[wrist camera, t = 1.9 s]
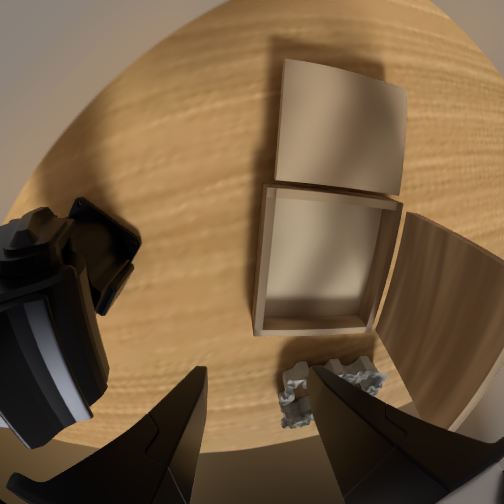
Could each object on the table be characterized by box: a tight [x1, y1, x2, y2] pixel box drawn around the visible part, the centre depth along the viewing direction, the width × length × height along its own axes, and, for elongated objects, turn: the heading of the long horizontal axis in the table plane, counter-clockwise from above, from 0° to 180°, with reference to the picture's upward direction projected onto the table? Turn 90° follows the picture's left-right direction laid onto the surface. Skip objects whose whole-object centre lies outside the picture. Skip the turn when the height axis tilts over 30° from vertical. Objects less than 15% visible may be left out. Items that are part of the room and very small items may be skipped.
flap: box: [376, 212, 504, 432], centre depth 13 cm, size 1×10×12 cm, turn 176°
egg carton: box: [278, 355, 388, 429], centre depth 25 cm, size 11×8×4 cm
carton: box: [251, 58, 407, 336], centre depth 19 cm, size 10×20×2 cm, turn 176°
